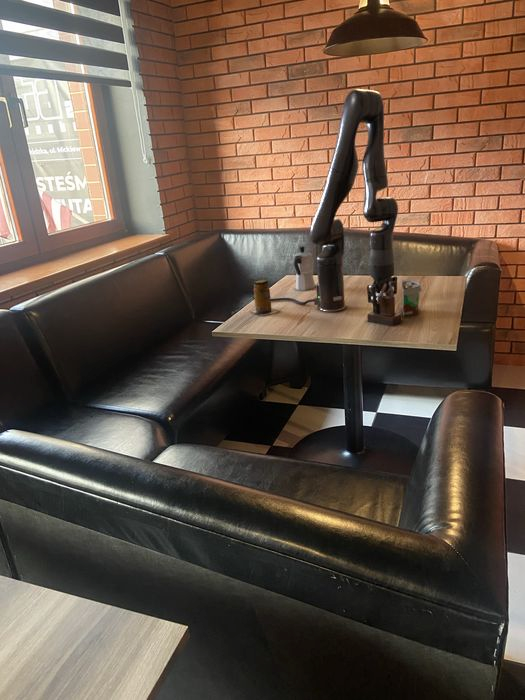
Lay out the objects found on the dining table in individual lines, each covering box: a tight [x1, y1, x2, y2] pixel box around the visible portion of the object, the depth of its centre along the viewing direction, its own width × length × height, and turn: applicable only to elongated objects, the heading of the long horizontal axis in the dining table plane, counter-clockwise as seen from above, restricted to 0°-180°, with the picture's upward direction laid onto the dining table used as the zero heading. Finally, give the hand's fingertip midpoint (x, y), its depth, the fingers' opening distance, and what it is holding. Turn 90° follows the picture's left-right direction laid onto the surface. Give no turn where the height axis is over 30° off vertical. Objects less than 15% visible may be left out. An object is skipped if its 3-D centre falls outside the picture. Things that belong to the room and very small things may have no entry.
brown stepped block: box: [366, 294, 402, 327], centre depth 178 cm, size 10×5×9 cm, turn 45°
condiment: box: [250, 279, 279, 316], centre depth 202 cm, size 7×8×12 cm
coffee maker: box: [292, 245, 316, 291], centre depth 228 cm, size 15×9×18 cm, turn 154°
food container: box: [401, 280, 422, 318], centre depth 183 cm, size 12×6×10 cm, turn 169°
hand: (383, 311), depth 178 cm, fingers open, 7 cm apart
